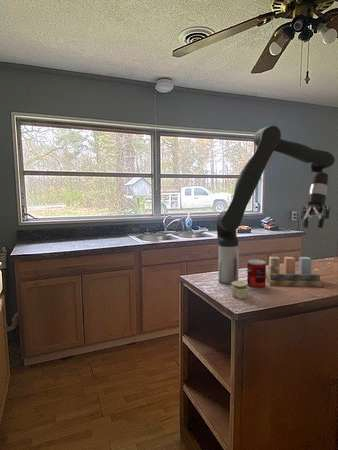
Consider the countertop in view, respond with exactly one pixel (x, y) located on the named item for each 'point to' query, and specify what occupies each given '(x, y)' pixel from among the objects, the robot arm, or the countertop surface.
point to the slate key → (304, 265)
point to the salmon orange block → (289, 265)
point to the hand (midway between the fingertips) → (312, 227)
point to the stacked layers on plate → (239, 289)
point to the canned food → (256, 273)
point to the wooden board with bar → (294, 279)
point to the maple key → (274, 265)
